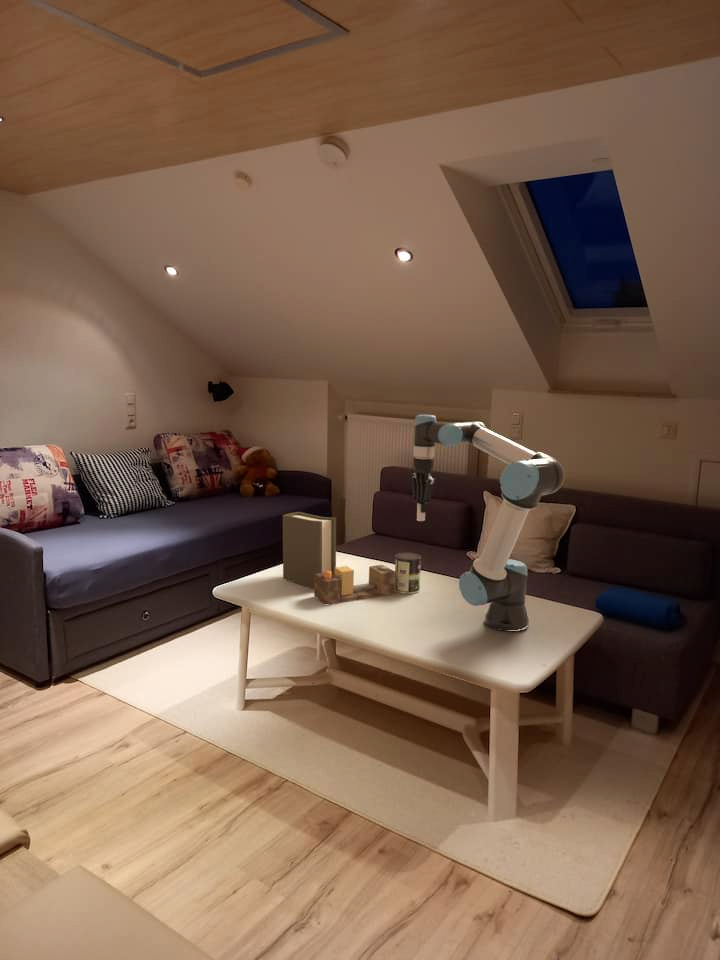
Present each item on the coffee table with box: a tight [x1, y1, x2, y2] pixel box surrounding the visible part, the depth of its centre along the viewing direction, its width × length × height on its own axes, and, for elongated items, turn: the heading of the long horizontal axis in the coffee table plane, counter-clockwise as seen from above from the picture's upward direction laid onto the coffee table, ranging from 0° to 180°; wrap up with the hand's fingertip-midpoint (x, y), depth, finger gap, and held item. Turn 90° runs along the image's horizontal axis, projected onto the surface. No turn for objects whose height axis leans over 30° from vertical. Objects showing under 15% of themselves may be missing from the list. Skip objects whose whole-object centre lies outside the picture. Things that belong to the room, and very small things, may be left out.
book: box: [282, 511, 337, 590], centre depth 287 cm, size 22×9×28 cm, turn 50°
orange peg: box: [324, 570, 332, 579], centre depth 268 cm, size 3×3×6 cm
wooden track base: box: [313, 564, 396, 605], centre depth 275 cm, size 30×10×10 cm, turn 119°
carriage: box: [335, 565, 355, 596], centre depth 272 cm, size 5×6×9 cm
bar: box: [353, 582, 376, 593], centre depth 275 cm, size 17×2×2 cm, turn 119°
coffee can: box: [394, 552, 422, 595], centre depth 282 cm, size 10×10×14 cm
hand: (420, 520), depth 262 cm, fingers closed
